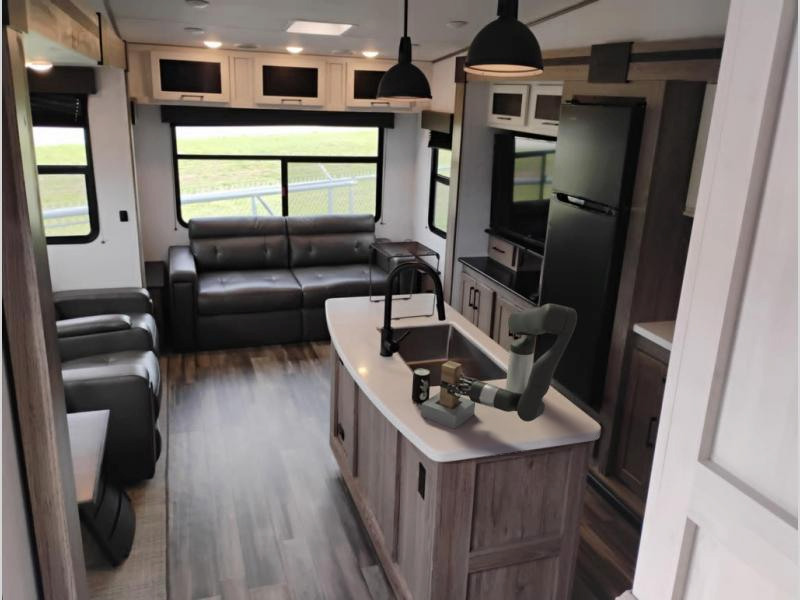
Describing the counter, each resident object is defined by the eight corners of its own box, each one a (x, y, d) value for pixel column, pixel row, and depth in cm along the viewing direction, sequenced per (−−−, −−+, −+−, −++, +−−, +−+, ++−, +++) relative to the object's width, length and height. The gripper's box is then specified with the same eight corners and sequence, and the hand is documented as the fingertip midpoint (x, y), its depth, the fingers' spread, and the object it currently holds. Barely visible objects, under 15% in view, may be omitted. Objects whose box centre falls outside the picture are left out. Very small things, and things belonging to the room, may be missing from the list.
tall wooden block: (446, 401, 228) (449, 360, 223) (458, 405, 225) (461, 364, 221) (439, 406, 224) (441, 364, 219) (451, 410, 222) (454, 368, 217)
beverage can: (414, 405, 232) (416, 375, 229) (409, 397, 238) (411, 368, 235) (431, 403, 234) (433, 374, 230) (425, 396, 240) (427, 367, 236)
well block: (441, 402, 236) (442, 390, 234) (474, 413, 228) (475, 401, 226) (421, 416, 225) (421, 403, 223) (454, 428, 217) (455, 415, 215)
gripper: (496, 377, 219) (454, 365, 228) (477, 391, 208) (433, 377, 217) (494, 397, 221) (453, 383, 230) (475, 411, 210) (432, 397, 219)
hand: (444, 380), depth 224 cm, fingers closed on tall wooden block, 5 cm apart
